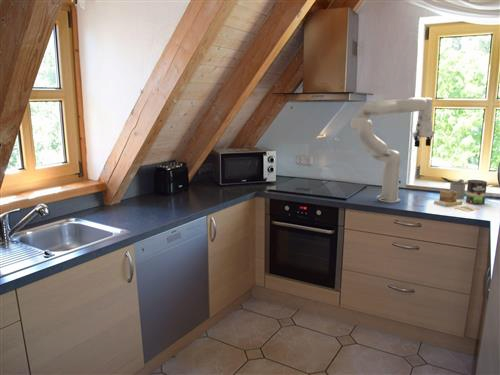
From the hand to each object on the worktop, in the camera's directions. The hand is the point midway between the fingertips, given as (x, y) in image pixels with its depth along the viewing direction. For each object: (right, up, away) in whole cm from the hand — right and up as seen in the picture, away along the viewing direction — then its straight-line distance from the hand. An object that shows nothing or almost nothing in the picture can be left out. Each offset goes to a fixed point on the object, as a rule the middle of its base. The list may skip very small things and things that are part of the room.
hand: (422, 146), depth 266 cm
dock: (+10, -36, -12) cm, 40 cm away
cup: (+23, -33, +4) cm, 41 cm away
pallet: (+16, -39, -22) cm, 48 cm away
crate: (+10, -34, -12) cm, 37 cm away
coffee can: (+28, -36, -9) cm, 46 cm away
